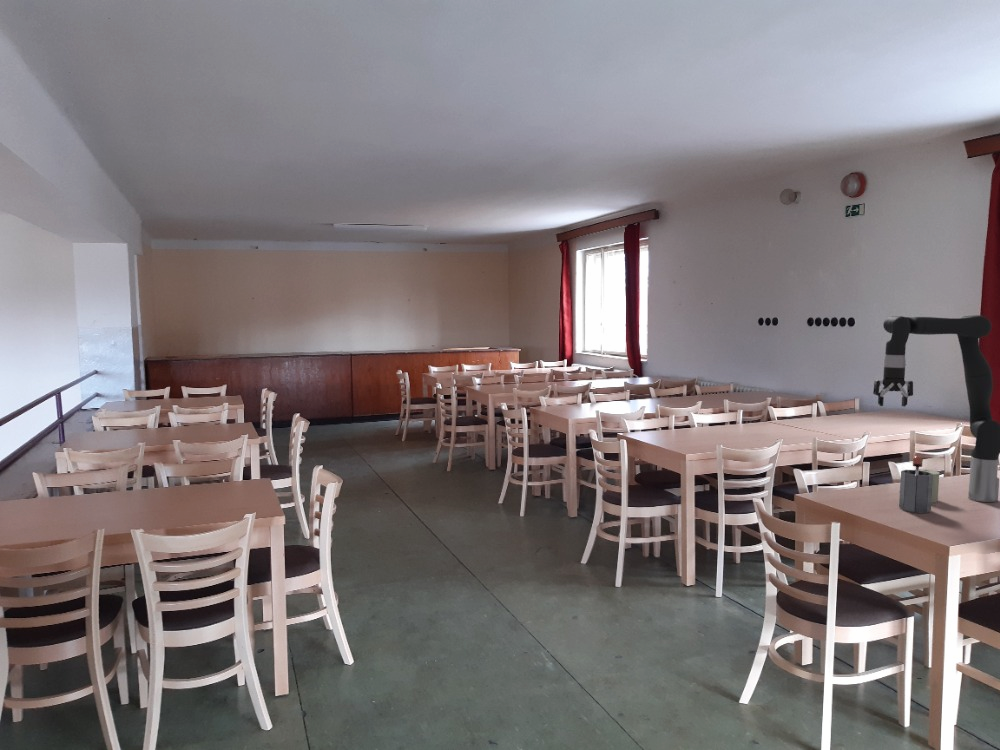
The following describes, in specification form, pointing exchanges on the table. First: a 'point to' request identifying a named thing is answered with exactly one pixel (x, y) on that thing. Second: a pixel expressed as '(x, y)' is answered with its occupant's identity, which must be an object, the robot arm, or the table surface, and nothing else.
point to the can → (934, 484)
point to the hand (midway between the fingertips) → (892, 406)
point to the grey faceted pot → (916, 491)
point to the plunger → (917, 463)
